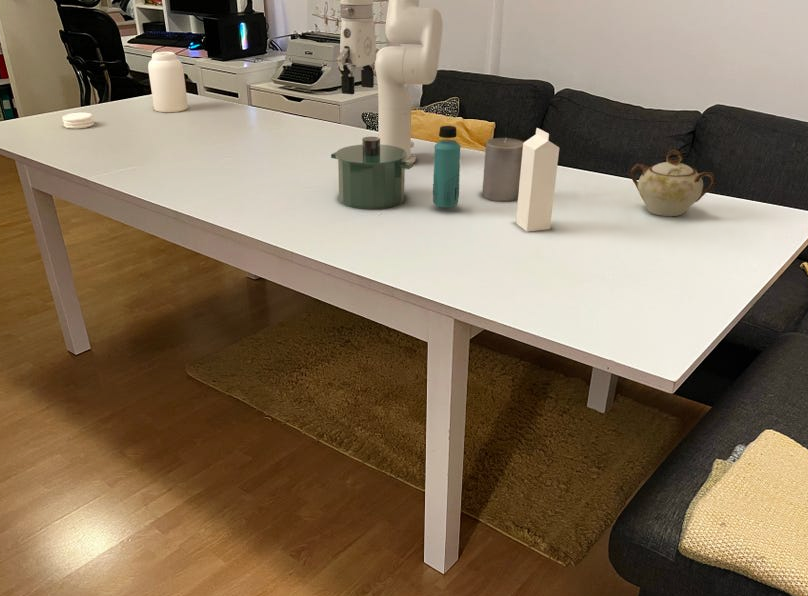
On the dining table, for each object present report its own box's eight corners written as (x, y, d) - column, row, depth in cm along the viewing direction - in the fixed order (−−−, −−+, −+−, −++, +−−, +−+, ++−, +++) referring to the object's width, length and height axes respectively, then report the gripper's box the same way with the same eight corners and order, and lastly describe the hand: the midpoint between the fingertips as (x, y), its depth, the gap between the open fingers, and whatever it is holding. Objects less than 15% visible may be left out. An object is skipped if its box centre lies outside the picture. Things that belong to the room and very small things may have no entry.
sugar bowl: (616, 212, 183) (626, 151, 176) (633, 196, 194) (643, 137, 186) (700, 227, 174) (714, 163, 167) (713, 209, 185) (727, 148, 178)
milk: (526, 232, 172) (536, 135, 160) (515, 223, 177) (523, 128, 165) (550, 229, 173) (561, 132, 162) (538, 220, 178) (548, 126, 167)
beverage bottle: (456, 214, 182) (461, 130, 172) (429, 212, 183) (432, 129, 173) (459, 205, 188) (464, 124, 177) (433, 203, 189) (436, 122, 178)
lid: (357, 145, 197) (356, 127, 195) (418, 153, 190) (418, 134, 188) (322, 162, 184) (321, 142, 181) (387, 171, 177) (387, 151, 174)
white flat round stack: (73, 121, 265) (70, 111, 263) (99, 122, 263) (97, 112, 262) (58, 128, 256) (56, 118, 254) (86, 129, 255) (83, 119, 253)
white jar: (148, 112, 278) (139, 54, 268) (162, 105, 289) (154, 49, 279) (180, 113, 276) (172, 55, 266) (193, 106, 287) (186, 50, 277)
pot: (349, 183, 203) (348, 142, 197) (423, 195, 194) (425, 153, 189) (318, 201, 190) (316, 158, 185) (396, 214, 182) (396, 169, 176)
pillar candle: (497, 187, 200) (502, 130, 193) (527, 195, 194) (533, 137, 187) (474, 195, 194) (477, 137, 187) (504, 204, 188) (509, 144, 181)
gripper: (352, 17, 164) (354, 98, 173) (388, 10, 178) (387, 86, 186) (323, 15, 167) (326, 95, 176) (360, 9, 181) (361, 83, 189)
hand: (358, 90), depth 181 cm, fingers open, 9 cm apart
